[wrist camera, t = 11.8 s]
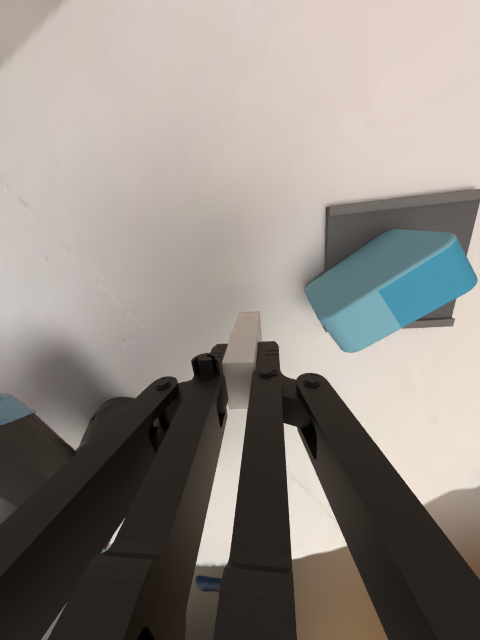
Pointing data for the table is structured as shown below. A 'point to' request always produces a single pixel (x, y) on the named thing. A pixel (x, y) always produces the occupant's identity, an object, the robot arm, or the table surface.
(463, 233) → the dark gray square slab
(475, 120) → the table surface
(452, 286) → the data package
